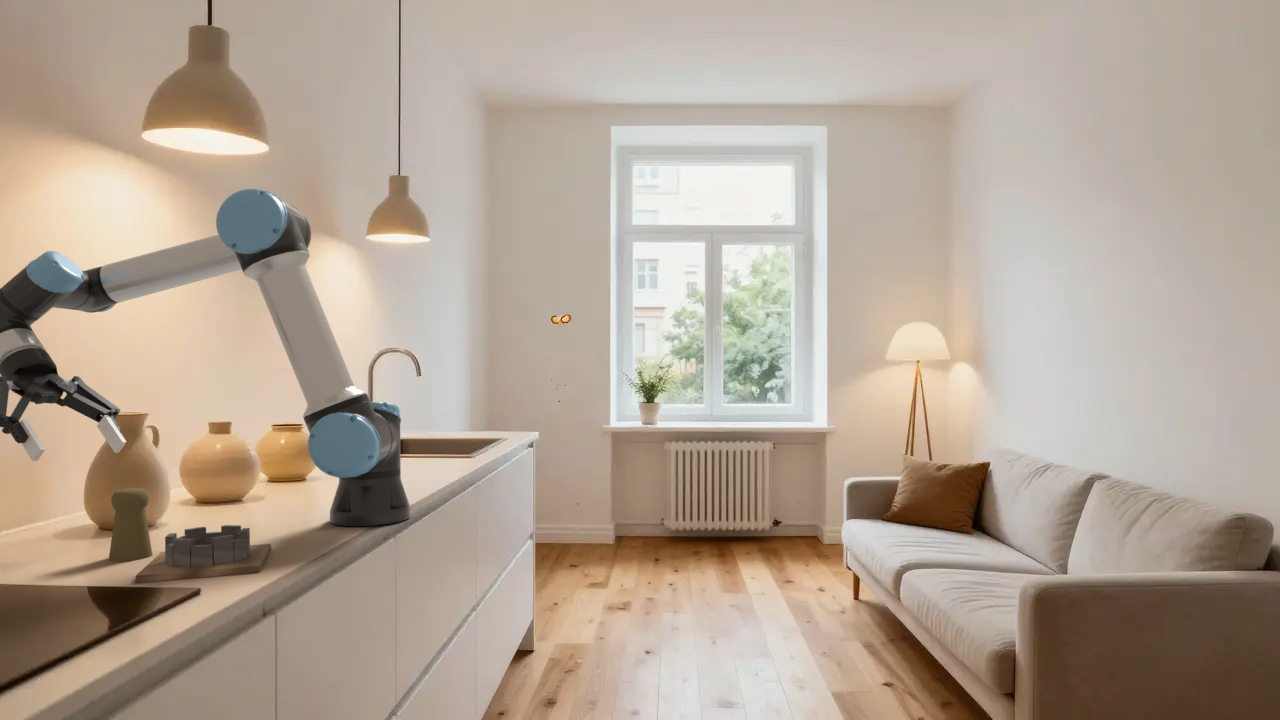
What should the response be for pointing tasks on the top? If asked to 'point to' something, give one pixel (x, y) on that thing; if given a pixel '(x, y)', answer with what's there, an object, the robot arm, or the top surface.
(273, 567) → the top surface
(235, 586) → the top surface
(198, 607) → the top surface
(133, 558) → the cork
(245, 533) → the collar
